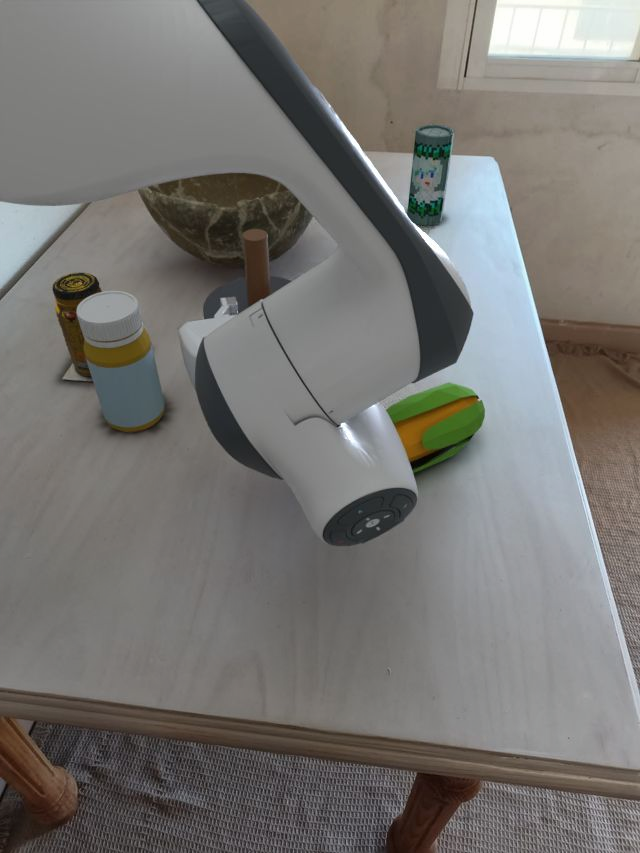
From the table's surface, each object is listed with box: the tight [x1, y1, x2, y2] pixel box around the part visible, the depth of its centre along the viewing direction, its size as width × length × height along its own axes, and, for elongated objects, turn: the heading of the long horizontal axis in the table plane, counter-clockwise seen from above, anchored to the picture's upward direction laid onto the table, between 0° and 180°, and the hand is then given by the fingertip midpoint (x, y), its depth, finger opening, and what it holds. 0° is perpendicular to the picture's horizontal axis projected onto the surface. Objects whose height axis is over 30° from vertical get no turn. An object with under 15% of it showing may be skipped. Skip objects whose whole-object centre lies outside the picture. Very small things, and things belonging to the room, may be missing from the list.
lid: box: [202, 229, 292, 320], centre depth 73 cm, size 14×14×10 cm
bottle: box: [77, 290, 166, 433], centre depth 69 cm, size 7×7×15 cm
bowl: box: [137, 173, 314, 268], centre depth 97 cm, size 28×27×15 cm
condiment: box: [52, 272, 103, 382], centre depth 77 cm, size 7×8×12 cm
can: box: [406, 123, 455, 227], centre depth 108 cm, size 6×6×15 cm
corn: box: [385, 382, 486, 474], centre depth 67 cm, size 7×8×20 cm
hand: (274, 296), depth 63 cm, fingers open, 8 cm apart
